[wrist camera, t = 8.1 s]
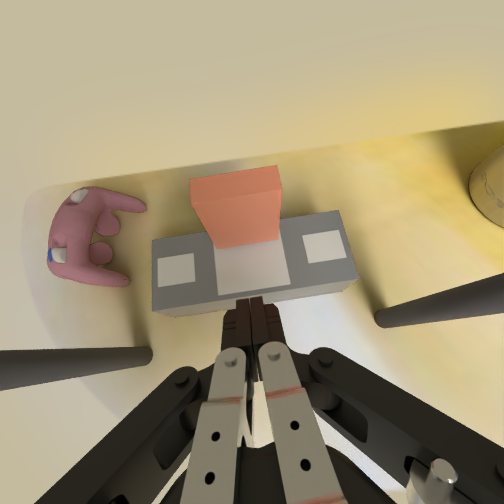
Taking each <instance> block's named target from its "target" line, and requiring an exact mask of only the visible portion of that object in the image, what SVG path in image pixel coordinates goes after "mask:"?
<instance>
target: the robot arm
mask: <svg viewBox="0 0 504 504" xmlns="http://www.w3.org/2000/svg"><path fill="white" fill-rule="evenodd" d="M469 190H470V194H471V197H472V200H473V202H474V203H475V205H476V206H477V208H478V209H479V210H480V211H481V212H482V213H483V214H484V215H485V216H486V217H487V218H489V219H490V220H491V221H493V222H494V223H496V224H497V225H499V226H501V227H503V228H504V144H503V145H501V146H500V147H499V148H498V149H497V150H496V151H494V152H493V153H492V154H491V155H490V156H489V157H487V158H486V159H485V160H484V161H483V162H482V163H480V164H479V165H478V166H477V167H476V168H475V169H474V170H473V172H472V174H471V176H470V180H469ZM257 368H258V370H257ZM258 374H259V379H260V381H263V384H264V390H265V396H266V401H267V407H268V412H269V417H270V423H271V428H272V433H273V438H274V442H272V443H270V444H268V445H266V446H263V447H261V448H254V382H258ZM312 408H313V409H312ZM313 410H314V411H315V413H316V414H318V415H319V416H320V417H321V418H322V419H323V420H325V421H326V422H327V423H328V424H329V425H331V426H332V427H333V428H334V429H335V430H337V431H338V432H339V433H340V434H341V435H343V436H344V437H345V438H346V439H347V440H349V441H350V442H351V443H352V444H353V445H355V446H356V447H357V448H358V449H359V450H361V451H362V452H363V453H364V454H365V455H367V456H368V457H369V458H370V459H371V460H373V461H374V462H375V463H376V464H377V465H378V466H380V467H381V468H382V469H383V470H384V471H386V472H387V473H388V474H389V475H390V476H392V477H393V478H394V479H395V480H396V481H398V482H399V483H400V484H401V485H402V486H404V487H405V488H406V495H407V500H408V502H409V504H504V448H503V447H501V446H499V445H497V444H496V443H494V442H492V441H490V440H489V439H487V438H485V437H484V436H482V435H480V434H478V433H477V432H475V431H473V430H471V429H470V428H468V427H466V426H465V425H463V424H461V423H459V422H458V421H456V420H454V419H453V418H451V417H449V416H447V415H446V414H444V413H442V412H440V411H439V410H437V409H435V408H434V407H432V406H430V405H428V404H427V403H425V402H423V401H421V400H420V399H418V398H416V397H415V396H413V395H411V394H409V393H408V392H406V391H404V390H402V389H401V388H399V387H397V386H396V385H394V384H392V383H390V382H389V381H387V380H385V379H383V378H382V377H380V376H378V375H377V374H375V373H373V372H371V371H370V370H368V369H366V368H365V367H363V366H361V365H359V364H358V363H356V362H354V361H352V360H351V359H349V358H347V357H346V356H344V355H342V354H340V353H339V352H337V351H335V350H333V349H331V348H327V347H320V348H317V349H314V350H313V351H312V352H311V353H310V354H309V355H307V354H300V353H297V352H295V351H293V350H291V349H290V348H289V347H288V345H287V344H286V340H285V336H284V332H283V327H282V323H281V319H280V315H279V311H278V308H277V307H276V306H275V305H274V304H273V303H272V304H265V305H264V304H263V297H262V296H258V297H251V298H250V301H249V298H244V299H238V300H236V309H232V310H228V311H227V312H226V314H225V315H224V319H223V331H222V343H221V352H220V353H219V354H218V356H217V357H216V360H215V363H214V364H212V365H211V366H209V367H207V368H205V369H203V370H200V371H198V372H197V370H196V369H195V368H193V367H190V366H185V367H181V368H179V369H177V370H175V371H174V372H173V373H171V374H170V375H169V376H168V377H167V378H166V379H165V380H164V381H163V382H162V383H161V384H160V385H159V386H158V387H157V388H156V389H155V390H153V391H152V392H151V393H150V394H149V395H148V396H147V397H146V398H145V399H144V400H143V401H142V402H141V403H140V404H139V405H138V406H137V407H136V408H134V409H133V410H132V411H131V412H130V413H129V414H128V415H127V416H126V417H125V418H124V419H123V420H122V421H121V422H120V423H119V424H118V425H117V426H116V427H114V428H113V429H112V430H111V431H110V432H109V433H108V434H107V435H106V436H105V437H104V438H103V439H102V440H101V441H100V442H99V443H98V444H97V445H96V446H95V447H93V448H92V449H91V450H90V451H89V452H88V453H87V454H86V455H85V456H84V457H83V458H82V459H81V460H80V461H79V462H78V463H76V465H74V466H73V467H72V468H71V469H70V470H69V471H68V472H67V473H66V474H65V475H64V476H63V477H62V478H61V479H60V480H59V481H58V482H56V484H54V486H52V487H51V488H50V489H49V490H48V491H47V492H46V493H45V494H44V495H43V496H42V497H41V498H40V499H39V500H37V501H36V502H35V503H34V504H151V503H152V502H153V501H154V499H155V498H156V497H157V495H158V494H159V493H160V491H161V490H162V489H163V487H164V486H165V485H166V484H167V482H168V481H169V480H170V478H171V477H172V476H173V474H174V473H175V472H176V470H177V469H178V468H179V466H180V465H181V464H182V462H183V461H184V460H185V459H186V457H187V456H188V455H189V453H190V452H191V454H190V459H189V464H188V468H187V469H186V470H185V471H184V472H183V473H182V474H181V475H180V476H179V477H178V479H177V480H176V481H175V482H174V484H173V485H172V486H171V488H170V489H169V491H168V492H167V494H166V495H165V496H164V498H163V499H162V501H161V502H160V503H159V504H397V503H395V501H393V500H392V499H391V498H390V497H389V496H388V495H387V494H386V493H385V492H384V491H383V490H382V489H381V488H380V487H379V486H378V485H377V484H375V483H374V482H373V481H372V480H371V479H370V478H369V477H368V476H367V475H366V474H365V473H364V472H363V471H362V470H361V469H360V468H359V467H358V466H356V465H355V464H354V463H353V462H352V461H351V460H350V459H349V458H348V457H347V456H345V455H344V454H343V453H341V452H340V451H338V450H336V449H335V448H333V447H330V446H328V445H325V443H324V440H323V437H322V434H321V432H320V429H319V426H318V423H317V420H316V418H315V415H314V412H313Z"/></svg>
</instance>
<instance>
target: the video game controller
mask: <svg viewBox="0 0 504 504" xmlns="http://www.w3.org/2000/svg"><path fill="white" fill-rule="evenodd" d="M146 209H147V207H146V205H145V204H144V203H143V202H142V201H140V200H139V199H137V198H134V197H131V196H128V195H125V194H122V193H118V192H115V191H111V190H108V189H104V188H99V187H83V188H80V189H78V190H76V191H74V192H73V193H72V194H71V195H70V196H69V197H68V198H67V199H66V200H65V201H64V202H63V203H62V205H61V206H60V207H59V209H58V211H57V213H56V214H55V217H54V219H53V221H52V225H51V228H50V233H49V240H48V249H49V250H48V257H47V265H48V268H49V270H50V271H51V272H52V273H53V274H54V275H56V276H58V277H60V278H63V279H71V280H73V281H77V282H80V283H85V284H90V285H98V286H109V287H123V286H126V285H128V284H129V283H130V279H129V278H128V277H127V276H125V275H123V274H121V273H119V272H115V271H111V270H107V269H103V268H101V267H98V265H102V264H106V263H108V262H110V261H111V259H112V257H113V251H112V249H111V247H110V246H109V245H108V244H106V243H103V242H97V243H93V244H90V242H91V238H92V234H93V231H94V230H95V232H96V233H98V234H99V235H101V236H105V237H108V236H113V235H115V234H117V233H118V232H119V230H120V223H119V221H118V220H117V219H116V218H115V217H114V216H113V214H112V213H111V211H115V210H120V211H127V212H144V211H146Z"/></svg>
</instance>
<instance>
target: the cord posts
mask: <svg viewBox="0 0 504 504" xmlns="http://www.w3.org/2000/svg"><path fill="white" fill-rule="evenodd" d="M499 313H504V273H502V274H499V275H495V276H492V277H489V278H485V279H482V280H479V281H475V282H472V283H469V284H465V285H462V286H459V287H455V288H452V289H449V290H446V291H442V292H439V293H436V294H432V295H429V296H426V297H422V298H419V299H416V300H412V301H409V302H406V303H402V304H399V305H396V306H392V307H389V308H386V309H382V310H379V311H377V312H376V314H375V322H376V323H377V325H378V326H380V327H382V328H392V327H399V326H407V325H415V324H422V323H430V322H438V321H446V320H453V319H461V318H469V317H476V316H484V315H492V314H499ZM152 357H153V352H152V350H151V349H150V348H149V347H114V348H77V349H42V350H41V349H40V350H2V351H0V391H2V390H8V389H14V388H19V387H25V386H31V385H36V384H42V383H48V382H53V381H59V380H65V379H70V378H76V377H82V376H88V375H93V374H99V373H105V372H110V371H116V370H122V369H127V368H133V367H139V366H144V365H147V364H149V363H150V361H151V360H152Z"/></svg>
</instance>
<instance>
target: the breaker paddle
mask: <svg viewBox="0 0 504 504" xmlns="http://www.w3.org/2000/svg"><path fill="white" fill-rule="evenodd" d="M189 182H190V197H191V205H192V206H193V208H194V210H195V212H196V214H197V215H198V217H199V219H200V221H201V222H202V224H203V226H204V228H205V229H206V231H207V233H208V235H209V236H210V238H211V240H212V242H213V243H214V245H215V247H216V249H222V248H228V247H234V246H241V245H247V244H253V243H259V242H266V241H272V240H278V237H279V224H280V211H281V198H282V186H281V181H280V177H279V172H278V167H277V165H274V166H268V167H262V168H255V169H249V170H243V171H237V172H231V173H225V174H219V175H213V176H207V177H201V178H195V179H189Z"/></svg>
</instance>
